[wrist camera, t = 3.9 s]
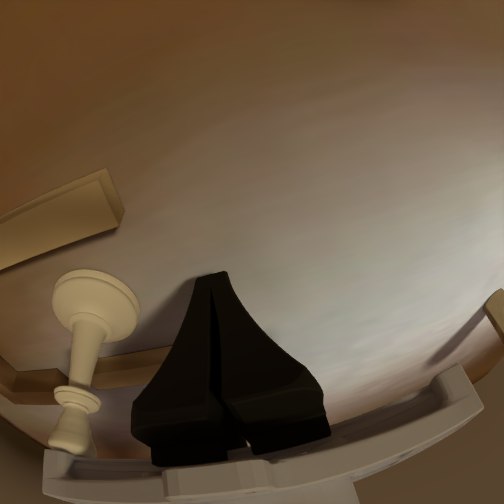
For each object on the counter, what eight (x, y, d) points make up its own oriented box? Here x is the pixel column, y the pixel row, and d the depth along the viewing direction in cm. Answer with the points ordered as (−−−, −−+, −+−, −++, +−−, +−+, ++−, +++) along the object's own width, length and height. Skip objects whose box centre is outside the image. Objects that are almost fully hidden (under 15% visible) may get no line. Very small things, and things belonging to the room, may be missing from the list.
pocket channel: (202, 358, 18) (204, 374, 17) (98, 375, 18) (97, 389, 17) (106, 167, 10) (98, 179, 9) (-19, 228, 10) (-30, 242, 9)
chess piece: (132, 268, 13) (113, 498, 5) (145, 334, 16) (147, 510, 8) (42, 268, 12) (-18, 463, 4) (69, 332, 15) (45, 493, 7)
